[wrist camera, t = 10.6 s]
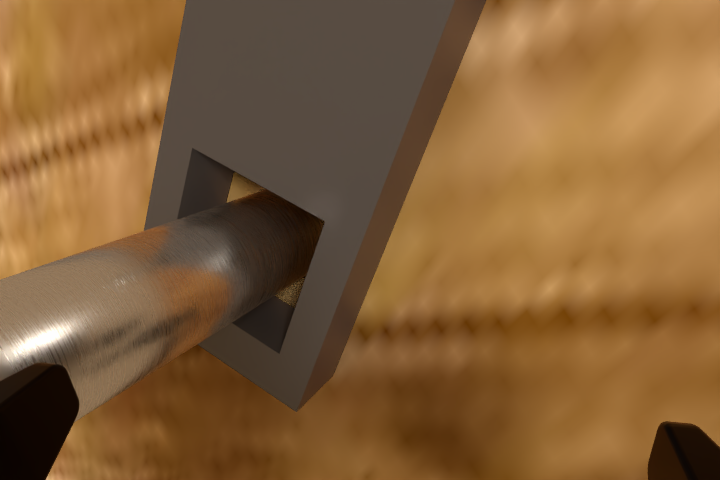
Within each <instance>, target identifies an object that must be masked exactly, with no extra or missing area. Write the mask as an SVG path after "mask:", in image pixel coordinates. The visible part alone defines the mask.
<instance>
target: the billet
mask: <svg viewBox="0 0 720 480" xmlns="http://www.w3.org/2000/svg"><path fill="white" fill-rule="evenodd" d="M322 229H323V224H322V221H321V219H320V218H318V217H316V216H314V215H312V214H311V213H309V212H307V211H305V210H303V209H302V208H300V207H298V206H296V205H294V204H293V203H291V202H289V201H287V200H285V199H284V198H282V197H280V196H278V195H276V194H275V193H273V192H271V191H269V190H267V189H266V190H263V191H260V192H257V193H254V194H251V195H248V196H245V197H243V198H240V199H237V200H234V201H231V202H228V203H225V204H222V205H219V206H216V207H213V208H210V209H207V210H204V211H201V212H198V213H195V214H193V215H190V216H187V217H184V218H181V219H178V220H175V221H172V222H169V223H166V224H163V225H160V226H157V227H154V228H151V229H148V230H145V231H142V232H140V233H137V234H134V235H131V236H128V237H125V238H122V239H119V240H116V241H113V242H110V243H107V244H104V245H101V246H98V247H95V248H92V249H89V250H87V251H84V252H81V253H78V254H75V255H72V256H69V257H66V258H63V259H60V260H57V261H54V262H51V263H48V264H45V265H42V266H39V267H36V268H34V269H31V270H28V271H25V272H22V273H19V274H16V275H13V276H10V277H7V278H4V279H1V280H0V381H1V380H3V379H5V378H7V377H9V376H11V375H13V374H15V373H17V372H19V371H21V370H23V369H25V368H26V367H28V366H30V365H32V364H35V363H40V362H44V363H55V364H60V365H62V366H64V367H65V368H66V370H67V372H68V374H69V377H70V379H71V381H72V384H73V386H74V389H75V391H76V393H77V396H78V398H79V404H80V405H79V412H78V415H77V417H76V419H75V421H77V420H78V419H80V418H82V417H83V416H85V415H86V414H88V413H90V412H91V411H93V410H94V409H96V408H97V407H99V406H101V405H102V404H104V403H105V402H107V401H109V400H110V399H112V398H113V397H115V396H116V395H118V394H120V393H121V392H123V391H124V390H126V389H127V388H129V387H131V386H132V385H134V384H135V383H137V382H139V381H140V380H142V379H143V378H145V377H146V376H148V375H150V374H151V373H153V372H154V371H156V370H158V369H159V368H161V367H162V366H164V365H165V364H167V363H169V362H170V361H172V360H173V359H175V358H176V357H178V356H180V355H181V354H183V353H184V352H186V351H188V350H189V349H191V348H192V347H194V346H195V345H197V344H199V343H200V342H202V341H203V340H205V339H207V338H208V337H210V336H211V335H213V334H214V333H216V332H218V331H219V330H221V329H222V328H224V327H226V326H227V325H229V324H230V323H232V322H233V321H235V320H237V319H238V318H240V317H241V316H243V315H244V314H246V313H248V312H249V311H251V310H252V309H254V308H256V307H257V306H259V305H260V304H262V303H263V302H265V301H267V300H268V299H270V298H271V297H273V296H275V295H276V294H278V293H279V292H281V291H282V290H284V289H286V288H287V287H289V286H290V285H292V284H294V283H295V282H297V281H298V280H300V279H301V278H303V277H305V276H306V275H307V272H308V270H309V267H310V264H311V261H312V258H313V255H314V252H315V249H316V246H317V243H318V241H319V238H320V235H321V232H322ZM75 421H74V422H75Z"/></svg>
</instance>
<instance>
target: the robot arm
mask: <svg viewBox="0 0 720 480" xmlns="http://www.w3.org/2000/svg"><path fill="white" fill-rule="evenodd" d="M79 405H80V404H79V398H78V396H77V393H76V391H75V389H74V386H73V384H72V381H71V379H70V377H69V374H68V372H67V370H66V368H65V367H64V366H62V365H60V364H55V363H44V362H40V363H35V364H32V365H30V366H28V367H26V368H25V369H23V370H21V371H19V372H17V373H15V374H13V375H11V376H9V377H7V378H5V379H3V380H1V381H0V480H46V478H47V476H48V474H49V472H50V470H51V468H52V466H53V464H54V462H55V460H56V458H57V456H58V454H59V452H60V449H61V447H62V445H63V443H64V441H65V439H66V437H67V435H68V433H69V431H70V429H71V427H72V425H73V423H74V421H75V419H76V417H77V415H78V412H79ZM648 480H720V447H719V446H718V445H717V444H716V443H715V442H714V441H713V440H712V439H711V438H710V437H709V436H708V435H707V434H705V433H704V432H703V431H702V430H701V429H700V428H699V427H697V426H696V425H693V424H689V423H678V422H668V421H666V422H662V423H661V424H660V425H659V427H658V430H657V433H656V437H655V440H654V444H653V447H652V451H651V455H650V458H649V462H648Z"/></svg>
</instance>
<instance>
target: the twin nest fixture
mask: <svg viewBox="0 0 720 480" xmlns="http://www.w3.org/2000/svg"><path fill="white" fill-rule="evenodd" d="M485 2H486V0H186V5H185V11H184V16H183V21H182V27H181V32H180V38H179V43H178V49H177V54H176V59H175V65H174V70H173V76H172V81H171V87H170V92H169V97H168V103H167V108H166V114H165V119H164V125H163V130H162V135H161V141H160V146H159V152H158V157H157V163H156V168H155V173H154V179H153V184H152V190H151V195H150V201H149V206H148V212H147V217H146V222H145V228H144V231H145V230H148V229H151V228H154V227H157V226H160V225H163V224H166V223H169V222H172V221H175V220H178V219H181V218H184V217H187V216H190V215H193V214H195V213H198V212H201V211H204V210H207V209H210V208H213V207H216V206H219V205H222V204H225V203H226V200H227V196H228V192H229V188H230V184H231V180H232V176H233V172H234V171H235V172H237V173H239V174H240V175H242V176H244V177H246V178H248V179H249V180H251V181H253V182H255V183H257V184H258V185H260V186H262V187H264V188H266V189H267V190H269V191H271V192H273V193H275V194H276V195H278V196H280V197H282V198H284V199H285V200H287V201H289V202H291V203H293V204H294V205H296V206H298V207H300V208H302V209H303V210H305V211H307V212H309V213H311V214H312V215H314V216H316V217H318V218H320V219H321V220H323V221H325V223H324V226H323V229H322V232H321V235H320V238H319V241H318V243H317V246H316V249H315V252H314V255H313V258H312V261H311V264H310V267H309V270H308V272H307V275H306V278H305V281H304V284H303V287H302V290H301V293H300V296H299V298H298V301H297V304H296V307H295V308H293V307H291V306H290V305H288V304H286V303H285V302H283V301H282V300H280V299H278V298H277V297H275V296H273V297H271V298H270V299H268V300H267V301H265V302H263V303H262V304H260V305H259V306H257V307H256V308H254V309H252V310H251V311H249V312H248V313H246V314H244V315H243V316H241V317H240V318H238V319H237V320H235V321H233V322H232V323H230V324H229V325H227V326H226V327H224V328H222V329H221V330H219V331H218V332H216V333H214V334H213V335H211V336H210V337H208V338H207V339H205V340H203V341H202V342H200V343H199V344H198V345H199V346H200V347H202V348H203V349H205V350H206V351H208V352H209V353H211V354H212V355H214V356H215V357H217V358H218V359H219V360H221V361H222V362H224V363H225V364H227V365H228V366H230V367H231V368H233V369H234V370H236V371H237V372H239V373H240V374H241V375H243V376H244V377H246V378H247V379H249V380H250V381H252V382H253V383H255V384H256V385H258V386H259V387H260V388H262V389H263V390H265V391H266V392H268V393H269V394H271V395H272V396H274V397H275V398H277V399H278V400H280V401H281V402H282V403H284V404H285V405H287V406H288V407H290V408H291V409H293V410H294V411H296V412H297V411H298V410H299V409H300V408H301V407H302V406H303V405H304V404H305V403H306V402H307V401H308V400H309V399H310V398H311V397H312V396H313V395H314V394H315V393H316V392H317V391H318V390H319V389H320V388H321V387H322V386H323V385H324V384H325V383H326V382H327V381H328V380H329V379H330V378H331V377H332V376H333V374H334V372H335V369H336V367H337V364H338V362H339V360H340V357H341V355H342V352H343V350H344V347H345V345H346V342H347V340H348V338H349V335H350V333H351V330H352V328H353V325H354V323H355V320H356V318H357V316H358V313H359V311H360V308H361V306H362V303H363V301H364V298H365V296H366V293H367V291H368V289H369V286H370V284H371V281H372V279H373V276H374V274H375V271H376V269H377V267H378V264H379V262H380V259H381V257H382V254H383V252H384V249H385V247H386V244H387V242H388V240H389V237H390V235H391V232H392V230H393V227H394V225H395V222H396V220H397V218H398V215H399V213H400V210H401V208H402V205H403V203H404V200H405V198H406V196H407V193H408V191H409V188H410V186H411V183H412V181H413V178H414V176H415V173H416V171H417V169H418V166H419V164H420V161H421V159H422V156H423V154H424V151H425V149H426V147H427V144H428V142H429V139H430V137H431V134H432V132H433V129H434V127H435V124H436V122H437V120H438V117H439V115H440V112H441V110H442V107H443V105H444V102H445V100H446V98H447V95H448V93H449V90H450V88H451V85H452V83H453V80H454V78H455V75H456V73H457V71H458V68H459V66H460V63H461V61H462V58H463V56H464V53H465V51H466V49H467V46H468V44H469V41H470V39H471V36H472V34H473V31H474V29H475V27H476V24H477V22H478V19H479V17H480V14H481V12H482V9H483V7H484V4H485Z"/></svg>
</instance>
